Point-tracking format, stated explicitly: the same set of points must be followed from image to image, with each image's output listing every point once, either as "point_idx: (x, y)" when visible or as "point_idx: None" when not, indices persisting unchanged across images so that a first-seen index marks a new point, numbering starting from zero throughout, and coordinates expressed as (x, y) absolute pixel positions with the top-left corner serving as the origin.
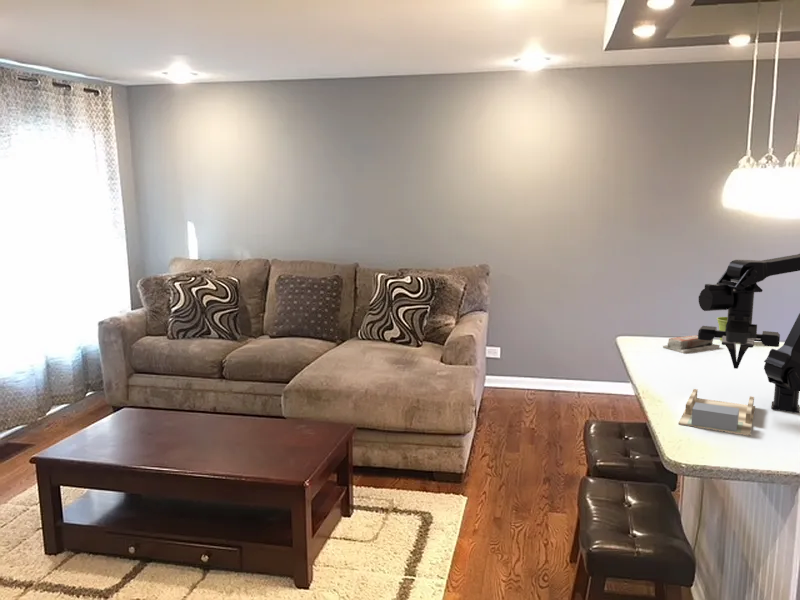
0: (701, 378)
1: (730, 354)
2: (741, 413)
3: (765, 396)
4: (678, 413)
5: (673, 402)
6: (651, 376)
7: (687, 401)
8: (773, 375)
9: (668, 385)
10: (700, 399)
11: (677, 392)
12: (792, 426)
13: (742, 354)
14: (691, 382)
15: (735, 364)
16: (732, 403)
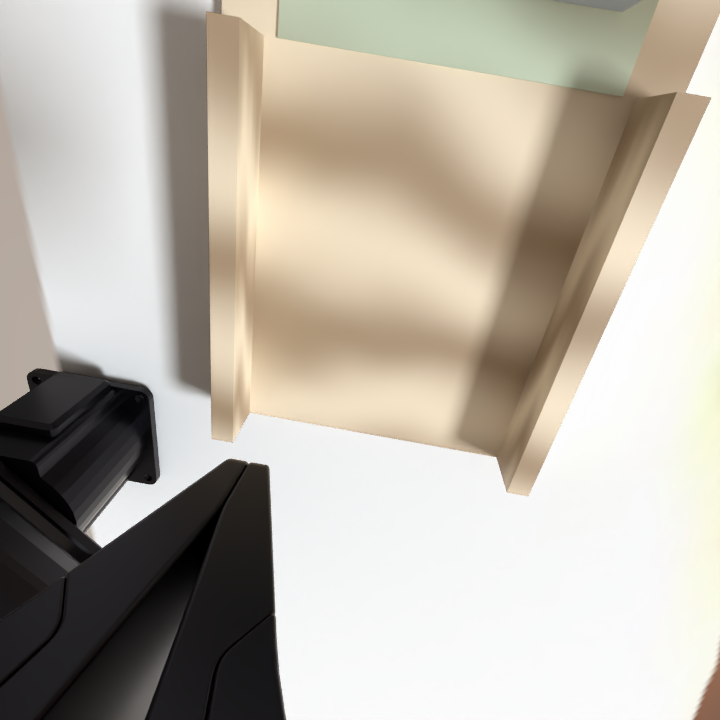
0: (423, 686)
1: (271, 654)
2: (286, 255)
3: None
4: (691, 145)
5: (646, 373)
6: (629, 685)
7: (659, 209)
8: (13, 535)
9: (586, 604)
10: (482, 438)
11: (570, 528)
12: (13, 124)
13: (2, 641)
14: (472, 647)
15: (236, 492)
16: (326, 418)
